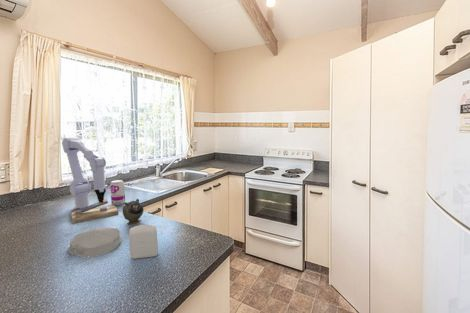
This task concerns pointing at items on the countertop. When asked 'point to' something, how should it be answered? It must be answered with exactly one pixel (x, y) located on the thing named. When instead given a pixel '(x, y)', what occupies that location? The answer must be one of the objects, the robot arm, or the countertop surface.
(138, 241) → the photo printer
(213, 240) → the countertop surface
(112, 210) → the latch board
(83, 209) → the latch bar
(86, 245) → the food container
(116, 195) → the supplement can
